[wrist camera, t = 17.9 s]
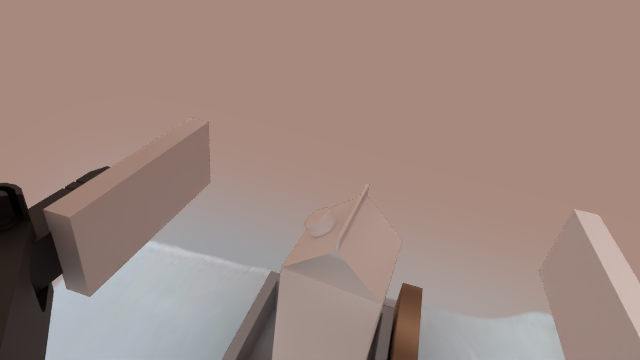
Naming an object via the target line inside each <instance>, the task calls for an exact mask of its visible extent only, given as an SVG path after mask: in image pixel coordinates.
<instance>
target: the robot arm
mask: <svg viewBox="0 0 640 360" xmlns="http://www.w3.org/2000/svg"><path fill="white" fill-rule="evenodd" d="M209 149H210V148H209V122H208V121H204V120H200V119H196V118H189V119H187V120H186V121H184V122H183V123H181V124H179V125H178V126H176V127H175V128H173V129H171V130H170V131H168V132H167V133H165V134H164V135H162V136H160V137H159V138H157V139H155V140H154V141H152V142H150V143H149V144H147V145H146V146H144V147H142V148H141V149H139V150H138V151H136V152H134V153H133V154H132V155H130V156H128V157H126V158H125V159H123V160H122V161H120V162H118V163H117V164H115V165H114V166H112V167H108V166H107V167H104V168H101V169H97V170H94V171H91V172H89V173H87V174H86V175H84V176H83V177H81V178H79V179H77V180H76V182H72V183H71V184H69V185H67V186H66V187H65V189H61V190H59V191H57V192H56V193H54V194H52V195H51V196H49V197H47V198H46V199H44V200H42V201H41V202H39V203H37V204H36V205H34V206H32V207H31V208H29V209H28V208H27V205H26V202H25V198H24V195H23V192H22V189H21V188H20V187H18V186H17V185H14V184H9V183H0V360H45V355H46V347H47V340H48V332H49V324H50V316H51V309H52V301H53V293H54V290H53V286H52V281H53V280H55V279H56V278H57V277H58V276H60V275H61V274H62V275H63V278H64V282H65V285H66V288H67V289H69V290H71V291H74V292H77V293H80V294H83V295H86V296H89V297H90V296H91V295H93V294H94V293H95V292H96V291H97V290H98V289H99V288H100V287H101V286H102V285H103V284H104V283H105V282H106V281H107V280H108V279H109V278H110V277H111V276H113V275H114V274H115V273H116V272H117V271H118V270H119V269H120V268H121V267H122V266H123V265H124V264H125V263H126V262H127V261H128V260H129V259H130V258H131V257H132V256H134V255H135V254H136V253H137V252H138V251H139V250H140V249H141V248H142V247H143V246H144V245H145V244H146V243H147V242H148V241H149V240H150V239H151V238H152V237H153V236H155V235H156V234H157V233H158V232H159V231H160V230H161V229H162V228H163V227H164V226H165V225H166V224H167V223H168V222H169V221H170V220H171V219H172V218H174V216H175V215H176V214H178V213H179V212H180V211H181V210H182V209H183V208H184V207H185V206H186V205H187V204H188V203H189V202H190V201H191V200H192V199H193V198H195V197H196V196H197V195H198V194H199V193H200V192H201V191H202V190H203V189H204V188H205V187H206V186H207V185H208V184H209V183H210V150H209ZM539 272H540V275H541V279H542V282H543V285H544V289H545V292H546V295H547V299H548V302H549V305H550V309H551V312H552V315H553V319H554V322H555V325H556V329H557V332H558V335H559V339H560V342H561V345H562V349H563V352H564V355H565V359H566V360H640V283H639V281H638V279H637V278H636V276H635V274H634V273H633V271H632V269H631V268H630V266H629V264H628V263H627V261H626V259H625V258H624V256H623V254H622V253H621V251H620V249H619V248H618V246H617V244H616V243H615V241H614V239H613V238H612V236H611V234H610V233H609V231H608V229H607V228H606V226H605V224H604V223H603V221H602V220H601V218H600V216H599V215H597V214H593V213H588V212H584V211H580V210H576V209H573V211H572V213H571V215H570V217H569V219H568V220H567V222H566V224H565V225H564V227H563V229H562V231H561V233H560V234H559V236H558V238H557V240H556V241H555V243H554V245H553V247H552V248H551V250H550V252H549V254H548V256H547V257H546V259H545V261H544V263H543V264H542V266H541V268H540V270H539Z"/></svg>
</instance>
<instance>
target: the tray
mask: <svg viewBox="0 0 640 360" xmlns="http://www.w3.org/2000/svg"><path fill="white" fill-rule="evenodd" d="M279 282H280V274H279V273H276V272H272V271H271V273H270V274H269V276H268V278H267V280H266V282H265V283H264V285H263V287H262V289H261V291H260V292H259V294H258V296H257V298H256V299H255V301H254V303H253V305H252V307H251V308H250V310H249V312H248V314H247V316H246V317H245V319H244V321H243V323H242V325H241V326H240V328H239V330H238V332H237V334H236V335H235V337H234V339H233V341H232V343H231V344H230V346H229V348H228V350H227V351H226V353H225V355H224V357H223V359H222V360H272V353H273V343H274V333H275V323H276V312H277V302H278V292H279ZM393 315H394V308H392V307H388V306H385V305H383V307H382V310H381V314H380V317H379V320H378V324H377V327H376V330H375V334H374V337H373V340H372V343H371V347H370V350H369V353H368V357H367V360H387V356H388V350H389V343H390V336H391V329H392V322H393Z"/></svg>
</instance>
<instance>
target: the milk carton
mask: <svg viewBox="0 0 640 360" xmlns="http://www.w3.org/2000/svg"><path fill="white" fill-rule="evenodd" d="M368 189H369V183H367V184H366V186H365V188H364V189H363V191H362V193H361V195H360V196H359V197H357V198H355V199H352V200H350V201H347V202H344V203H342V204H339V205H336V206H334V207H331V208H322V209H320V210H318V211H316V212H314V213H312V214H311V215H310V216H309V217H308V218H307V219H306V220H305V222H304V226H305V227H306V229H307V230H306V231H305V233H304V234H303V236H302V237H301V238H300V240H299V241H298V243H297V245H296V246H295V247H294V249H293V250H292V252H291V253H290V255H289V256H288V258H287V259H286V261H285V262H284V264H283V265H282V267H281V273H280V282H279V292H278V302H277V312H276V323H275V333H274V343H273V353H272V360H367V357H368V353H369V350H370V347H371V343H372V340H373V337H374V334H375V330H376V327H377V324H378V320H379V317H380V314H381V310H382V307H383V304H384V300H385V297H386V294H387V290H388V287H389V284H390V281H391V277H392V274H393V271H394V267H395V264H396V261H397V257H398V254H399V251H400V247H401V244H402V239H401V238H400V236H399V235H398V234H397V233H396V231H395V230H394V229H393V228H392V226H391V225H390V224H389V223H388V221H387V220H386V219H385V218H384V217H383V215H382V214H381V212H380V211H379V210H378V209H377V207H376V206H375V205H374V204H373V202H372V201H371V200H370V199H369V198H368V196H367V193H368Z"/></svg>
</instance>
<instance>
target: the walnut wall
mask: <svg viewBox="0 0 640 360" xmlns="http://www.w3.org/2000/svg"><path fill="white" fill-rule="evenodd" d="M421 302H422V288H419V287H416V286H412V285H409V284H405V283H403V284H402V288H401V291H400V294H399V297H398V300H397V303H396V306H395V309H394V315H393V322H392V329H391V336H390V343H389V350H388V356H387V360H418V346H419V331H420V317H421Z"/></svg>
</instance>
